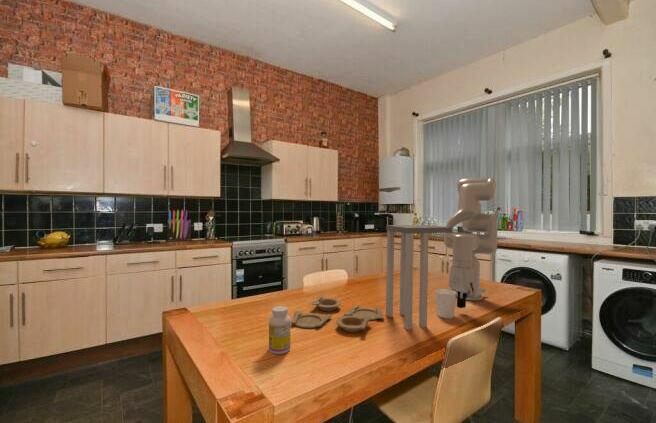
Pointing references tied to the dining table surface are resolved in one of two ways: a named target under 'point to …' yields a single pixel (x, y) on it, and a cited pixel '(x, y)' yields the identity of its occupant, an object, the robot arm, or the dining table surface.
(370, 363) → the dining table surface
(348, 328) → the tableware set
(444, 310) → the white cup
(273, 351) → the supplement bottle
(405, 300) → the grey tall stool
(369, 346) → the dining table surface
